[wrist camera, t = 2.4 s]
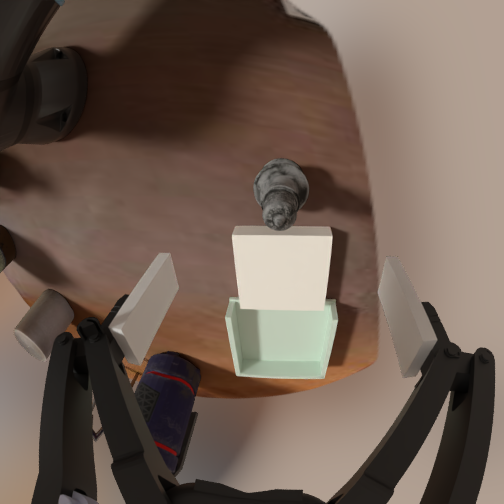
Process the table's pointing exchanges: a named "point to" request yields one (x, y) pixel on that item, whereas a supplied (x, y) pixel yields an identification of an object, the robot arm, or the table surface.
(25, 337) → the pillar candle
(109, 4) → the table surface
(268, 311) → the box
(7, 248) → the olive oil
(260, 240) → the white square slab
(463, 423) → the robot arm
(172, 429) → the grenade
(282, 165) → the dark grey tall piece
